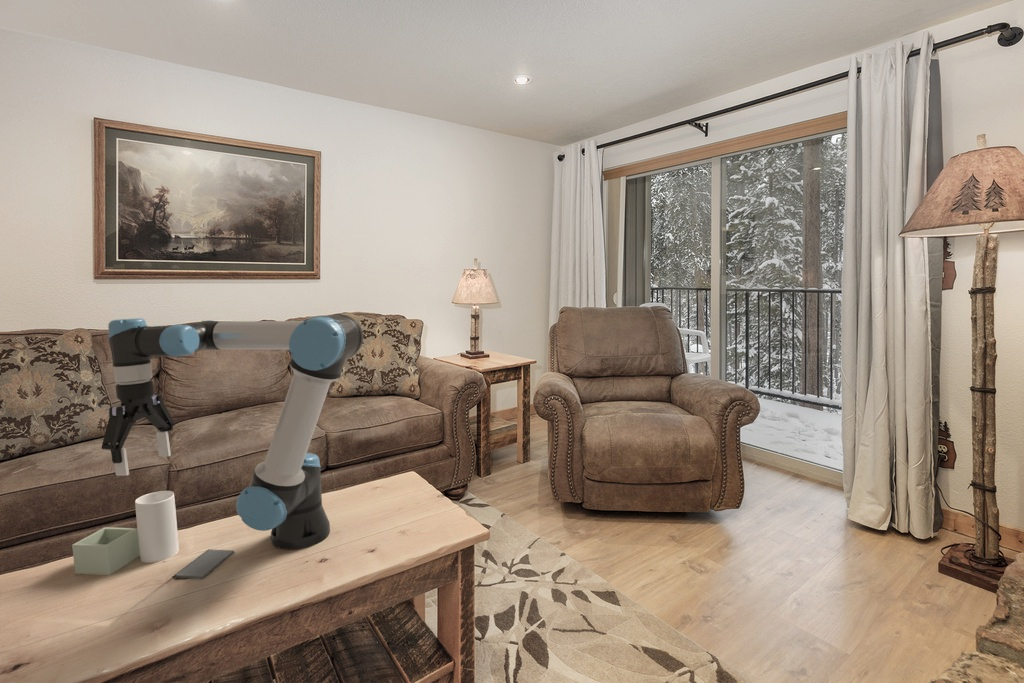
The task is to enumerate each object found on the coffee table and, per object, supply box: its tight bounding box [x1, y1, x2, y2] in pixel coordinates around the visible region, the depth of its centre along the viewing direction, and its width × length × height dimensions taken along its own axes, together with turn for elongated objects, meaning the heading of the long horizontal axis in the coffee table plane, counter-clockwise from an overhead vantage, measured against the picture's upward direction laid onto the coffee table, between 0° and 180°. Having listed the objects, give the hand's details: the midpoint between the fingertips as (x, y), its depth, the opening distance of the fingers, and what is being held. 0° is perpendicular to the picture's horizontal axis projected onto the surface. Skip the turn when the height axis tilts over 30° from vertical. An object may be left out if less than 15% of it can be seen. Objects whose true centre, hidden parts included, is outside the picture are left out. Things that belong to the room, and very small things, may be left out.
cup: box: [134, 490, 180, 564], centre depth 132 cm, size 8×8×16 cm
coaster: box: [171, 548, 235, 580], centre depth 129 cm, size 12×12×1 cm
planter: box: [71, 526, 140, 576], centre depth 128 cm, size 9×9×8 cm
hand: (144, 465), depth 129 cm, fingers open, 13 cm apart
